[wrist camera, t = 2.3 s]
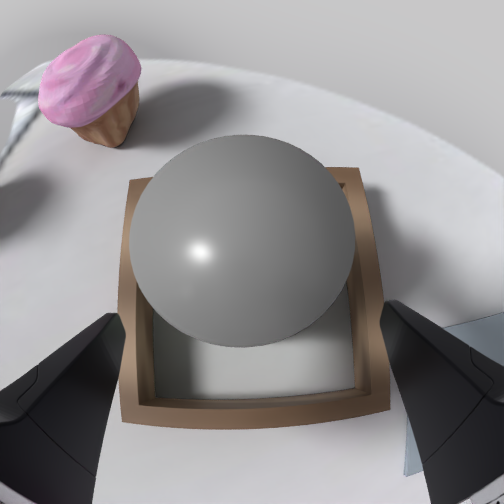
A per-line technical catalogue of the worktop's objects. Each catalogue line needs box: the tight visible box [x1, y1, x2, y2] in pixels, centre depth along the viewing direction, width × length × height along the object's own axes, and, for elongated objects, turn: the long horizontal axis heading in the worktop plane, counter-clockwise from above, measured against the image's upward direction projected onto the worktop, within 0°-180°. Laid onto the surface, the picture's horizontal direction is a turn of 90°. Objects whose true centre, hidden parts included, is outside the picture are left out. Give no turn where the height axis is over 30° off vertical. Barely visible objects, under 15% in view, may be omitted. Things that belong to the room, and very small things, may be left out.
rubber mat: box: [404, 312, 504, 477], centre depth 16 cm, size 11×11×1 cm
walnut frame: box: [118, 167, 390, 429], centre depth 17 cm, size 15×15×3 cm
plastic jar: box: [129, 135, 355, 347], centre depth 13 cm, size 6×6×12 cm
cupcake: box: [38, 35, 141, 148], centre depth 19 cm, size 9×9×10 cm
